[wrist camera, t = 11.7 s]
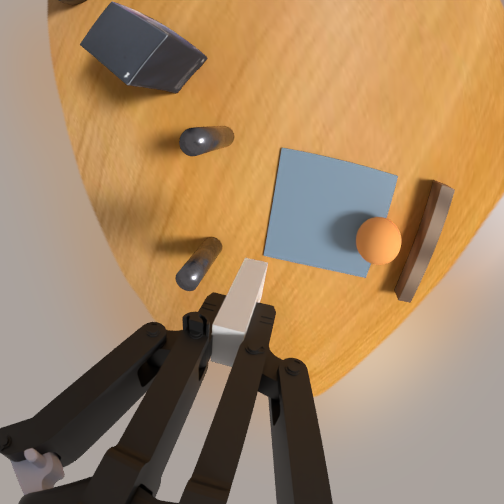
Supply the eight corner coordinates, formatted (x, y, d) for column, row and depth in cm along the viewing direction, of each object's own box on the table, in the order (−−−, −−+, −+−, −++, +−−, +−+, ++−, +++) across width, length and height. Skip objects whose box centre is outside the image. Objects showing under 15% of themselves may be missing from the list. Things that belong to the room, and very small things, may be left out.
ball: (409, 223, 28) (370, 208, 31) (404, 231, 24) (357, 213, 27) (395, 264, 30) (358, 247, 33) (387, 279, 26) (343, 259, 29)
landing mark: (282, 147, 29) (281, 147, 29) (397, 175, 27) (397, 176, 27) (263, 255, 36) (263, 255, 36) (365, 277, 34) (365, 277, 34)
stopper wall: (433, 180, 26) (442, 184, 24) (445, 184, 26) (454, 189, 24) (394, 289, 34) (398, 300, 32) (405, 292, 34) (410, 302, 32)
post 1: (214, 125, 29) (180, 126, 22) (235, 127, 29) (207, 128, 21) (211, 145, 31) (178, 154, 23) (232, 148, 30) (204, 157, 22)
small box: (211, 56, 26) (170, 33, 16) (177, 95, 28) (127, 89, 19) (159, 20, 24) (111, -2, 14) (129, 56, 27) (76, 46, 17)
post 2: (204, 235, 36) (175, 268, 28) (222, 239, 36) (197, 273, 28) (203, 252, 38) (175, 287, 30) (221, 256, 37) (197, 293, 29)
